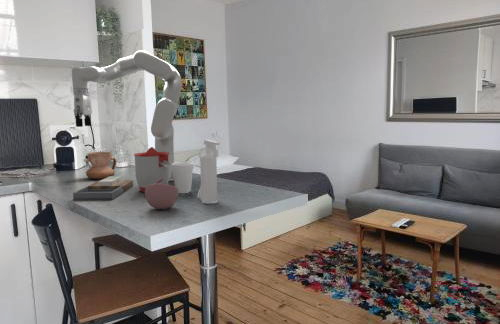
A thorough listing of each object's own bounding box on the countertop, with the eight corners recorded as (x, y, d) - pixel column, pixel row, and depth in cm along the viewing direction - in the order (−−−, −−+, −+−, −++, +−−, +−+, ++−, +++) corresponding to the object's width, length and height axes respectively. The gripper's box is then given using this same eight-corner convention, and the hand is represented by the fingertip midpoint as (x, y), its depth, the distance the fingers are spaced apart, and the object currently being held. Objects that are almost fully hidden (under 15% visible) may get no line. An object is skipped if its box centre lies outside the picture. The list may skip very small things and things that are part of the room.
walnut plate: (133, 186, 182) (132, 180, 182) (123, 192, 168) (123, 185, 168) (100, 186, 182) (99, 180, 182) (87, 192, 168) (87, 186, 168)
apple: (180, 204, 146) (180, 175, 144) (175, 213, 134) (174, 181, 133) (149, 205, 146) (148, 176, 144) (142, 213, 134) (140, 182, 132)
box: (123, 192, 168) (122, 186, 168) (112, 199, 155) (111, 192, 154) (87, 192, 168) (87, 186, 168) (73, 200, 155) (72, 193, 154)
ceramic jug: (91, 182, 194) (89, 154, 192) (79, 178, 203) (78, 152, 202) (123, 178, 207) (122, 152, 205) (110, 174, 216) (110, 150, 215)
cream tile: (117, 183, 175) (116, 178, 174) (112, 185, 169) (112, 181, 168) (104, 183, 174) (103, 179, 174) (99, 185, 169) (98, 181, 168)
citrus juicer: (156, 195, 161) (154, 149, 159) (128, 191, 170) (125, 147, 168) (180, 189, 175) (179, 146, 172) (153, 185, 184) (151, 144, 181)
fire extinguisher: (205, 197, 157) (203, 137, 152) (224, 203, 148) (223, 140, 144) (191, 200, 152) (190, 139, 148) (211, 207, 144) (210, 142, 139)
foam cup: (173, 195, 162) (172, 165, 160) (171, 191, 171) (170, 162, 169) (195, 194, 164) (194, 164, 163) (192, 189, 173) (192, 161, 171)
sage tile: (122, 180, 181) (121, 176, 181) (117, 182, 176) (117, 178, 175) (109, 180, 181) (109, 176, 181) (104, 182, 175) (104, 178, 175)
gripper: (80, 91, 182) (83, 127, 184) (95, 93, 199) (98, 125, 201) (65, 91, 182) (68, 127, 184) (81, 93, 199) (84, 125, 201)
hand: (83, 126), depth 193 cm, fingers open, 9 cm apart
